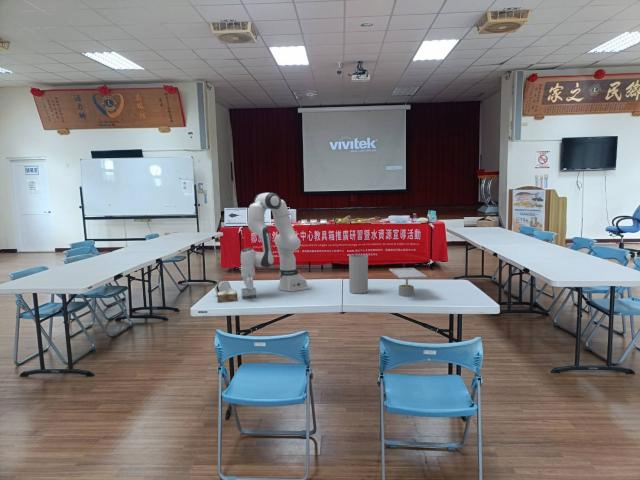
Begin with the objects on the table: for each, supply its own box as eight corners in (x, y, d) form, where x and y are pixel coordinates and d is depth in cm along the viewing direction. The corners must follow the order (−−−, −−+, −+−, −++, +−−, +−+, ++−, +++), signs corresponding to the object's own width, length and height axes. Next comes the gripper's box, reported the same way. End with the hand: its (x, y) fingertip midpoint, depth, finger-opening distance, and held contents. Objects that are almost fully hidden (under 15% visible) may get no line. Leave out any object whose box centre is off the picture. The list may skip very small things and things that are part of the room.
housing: (255, 296, 288) (255, 286, 287) (256, 298, 283) (256, 288, 282) (241, 297, 285) (241, 288, 284) (242, 299, 281) (242, 289, 280)
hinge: (224, 297, 286) (219, 283, 285) (218, 299, 287) (213, 285, 286) (234, 291, 302) (229, 278, 301) (228, 293, 303) (223, 280, 302)
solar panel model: (426, 299, 273) (427, 276, 271) (400, 300, 271) (400, 277, 269) (413, 289, 300) (413, 267, 298) (388, 289, 299) (389, 268, 297)
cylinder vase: (371, 291, 296) (371, 255, 293) (361, 295, 286) (361, 257, 283) (355, 288, 304) (355, 253, 300) (345, 292, 294) (345, 256, 290)
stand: (236, 297, 285) (235, 290, 284) (237, 300, 277) (237, 293, 276) (217, 299, 281) (217, 291, 281) (218, 302, 274) (218, 294, 273)
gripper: (255, 275, 273) (256, 297, 275) (250, 269, 293) (251, 289, 294) (245, 276, 271) (246, 298, 273) (241, 270, 291) (242, 290, 292)
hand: (248, 293), depth 284 cm, fingers closed on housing, 5 cm apart
